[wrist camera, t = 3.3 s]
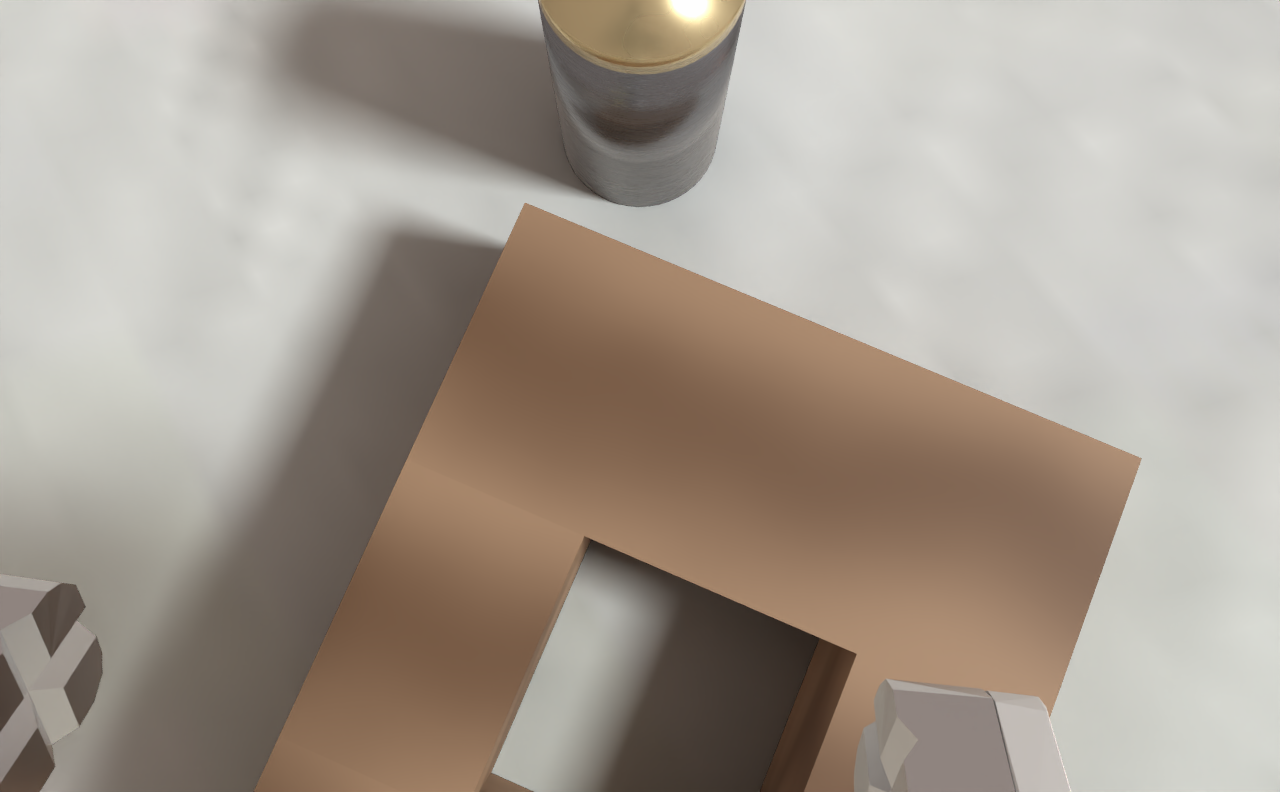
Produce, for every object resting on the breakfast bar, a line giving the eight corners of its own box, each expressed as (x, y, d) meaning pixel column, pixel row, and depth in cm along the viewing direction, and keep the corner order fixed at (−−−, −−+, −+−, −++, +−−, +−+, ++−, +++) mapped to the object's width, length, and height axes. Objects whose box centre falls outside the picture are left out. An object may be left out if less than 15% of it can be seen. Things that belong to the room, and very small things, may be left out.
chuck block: (789, 1214, 22) (821, 1358, 18) (225, 952, 23) (140, 1036, 19) (1061, 471, 25) (1141, 458, 21) (541, 254, 26) (524, 202, 22)
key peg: (681, 230, 26) (702, 92, 18) (538, 171, 26) (495, 8, 18) (740, 94, 26) (786, -99, 18) (600, 37, 26) (584, -179, 19)
